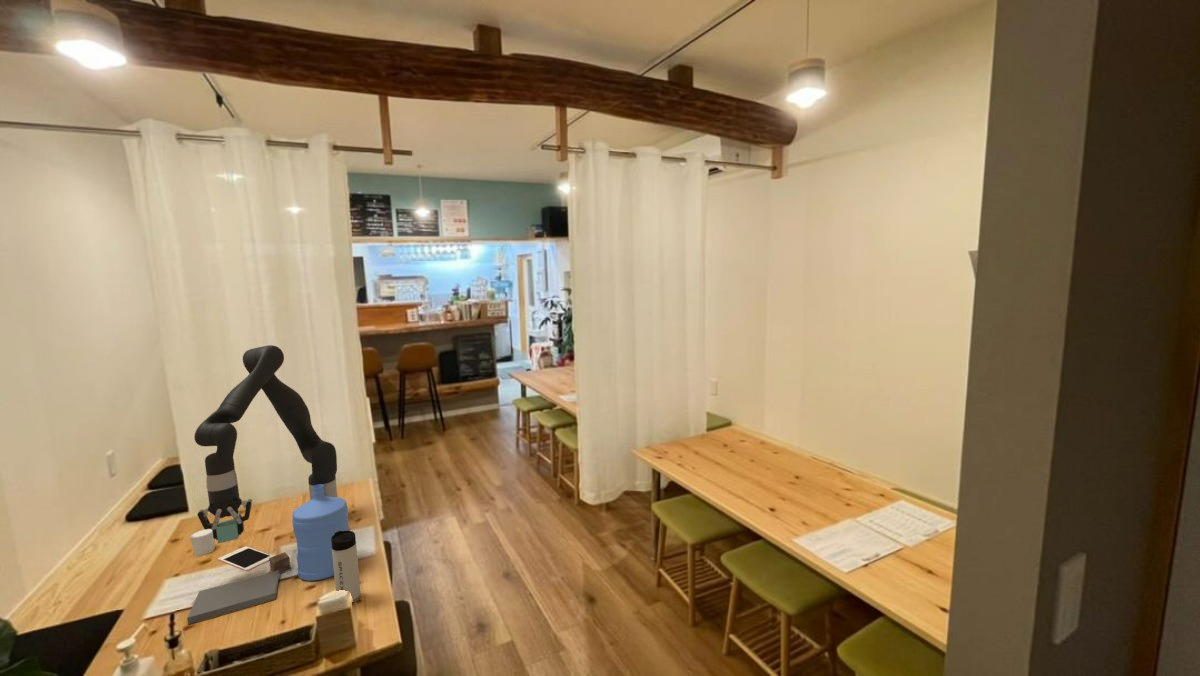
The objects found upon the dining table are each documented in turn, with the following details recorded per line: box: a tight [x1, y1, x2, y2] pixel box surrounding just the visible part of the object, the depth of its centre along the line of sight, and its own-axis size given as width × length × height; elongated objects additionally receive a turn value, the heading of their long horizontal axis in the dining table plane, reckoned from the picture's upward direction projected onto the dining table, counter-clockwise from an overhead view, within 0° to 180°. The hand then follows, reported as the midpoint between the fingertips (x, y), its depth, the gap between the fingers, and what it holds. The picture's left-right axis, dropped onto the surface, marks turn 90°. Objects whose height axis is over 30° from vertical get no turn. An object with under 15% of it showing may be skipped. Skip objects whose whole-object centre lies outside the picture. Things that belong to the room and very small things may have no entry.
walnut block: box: [268, 552, 291, 575], centre depth 156 cm, size 4×4×4 cm
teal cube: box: [216, 518, 240, 544], centre depth 151 cm, size 5×5×5 cm
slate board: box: [186, 570, 280, 625], centre depth 142 cm, size 20×14×2 cm
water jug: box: [291, 484, 351, 582], centre depth 156 cm, size 16×16×28 cm
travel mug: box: [331, 530, 362, 603], centre depth 139 cm, size 6×7×20 cm
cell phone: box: [217, 545, 274, 572], centre depth 164 cm, size 9×18×1 cm, turn 64°
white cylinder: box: [189, 528, 216, 557], centre depth 170 cm, size 7×7×7 cm
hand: (229, 536), depth 151 cm, fingers closed on teal cube, 5 cm apart
